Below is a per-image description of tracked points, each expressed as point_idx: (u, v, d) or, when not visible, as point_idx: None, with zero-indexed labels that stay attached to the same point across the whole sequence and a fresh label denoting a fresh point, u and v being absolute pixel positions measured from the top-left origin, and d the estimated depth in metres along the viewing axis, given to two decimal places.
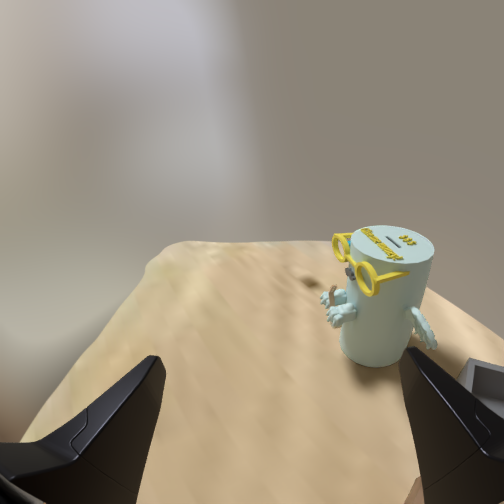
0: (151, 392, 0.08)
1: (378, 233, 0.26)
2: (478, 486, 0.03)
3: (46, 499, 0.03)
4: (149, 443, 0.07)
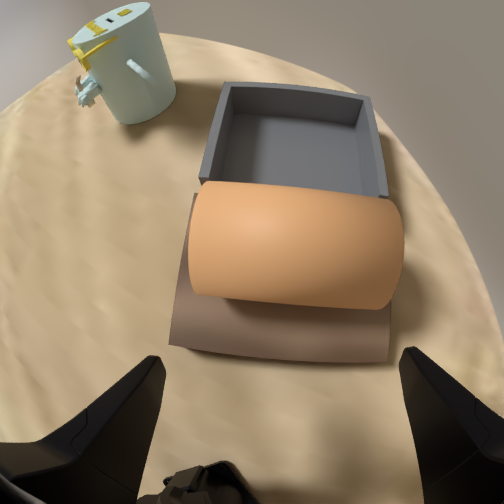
0: (151, 392, 0.08)
1: (100, 20, 0.17)
2: (478, 485, 0.03)
3: (46, 499, 0.03)
4: (149, 443, 0.07)
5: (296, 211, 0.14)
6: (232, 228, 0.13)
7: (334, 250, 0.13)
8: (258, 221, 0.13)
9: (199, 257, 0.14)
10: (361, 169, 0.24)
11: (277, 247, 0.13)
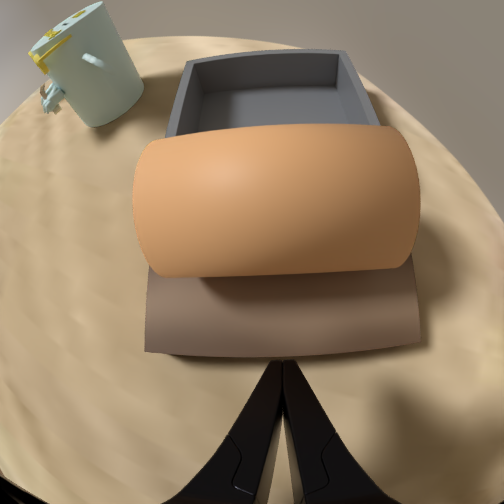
0: (282, 400, 0.08)
1: (57, 27, 0.15)
2: None
3: None
4: (275, 457, 0.07)
5: (264, 139, 0.10)
6: (183, 170, 0.10)
7: (323, 175, 0.09)
8: (215, 155, 0.10)
9: (145, 214, 0.10)
10: None
11: (243, 181, 0.09)
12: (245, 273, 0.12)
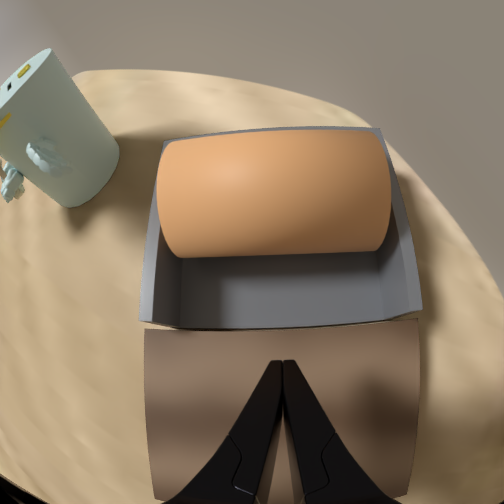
0: (282, 400, 0.08)
1: (4, 85, 0.12)
2: None
3: None
4: None
5: None
6: None
7: None
8: None
9: None
10: None
11: None
12: None
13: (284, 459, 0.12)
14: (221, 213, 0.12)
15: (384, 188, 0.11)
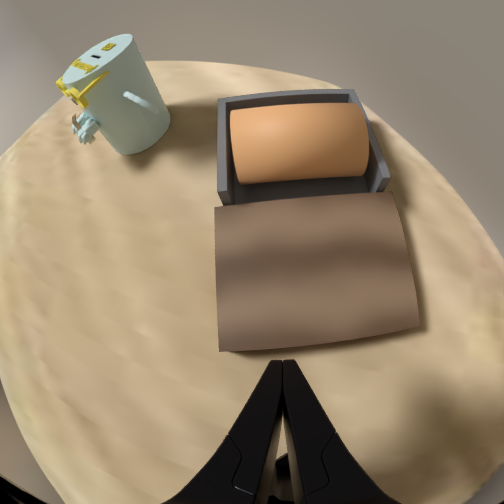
0: (282, 400, 0.08)
1: (85, 57, 0.20)
2: None
3: None
4: None
5: None
6: None
7: None
8: None
9: None
10: None
11: None
12: None
13: (322, 285, 0.21)
14: (275, 172, 0.22)
15: (364, 158, 0.20)
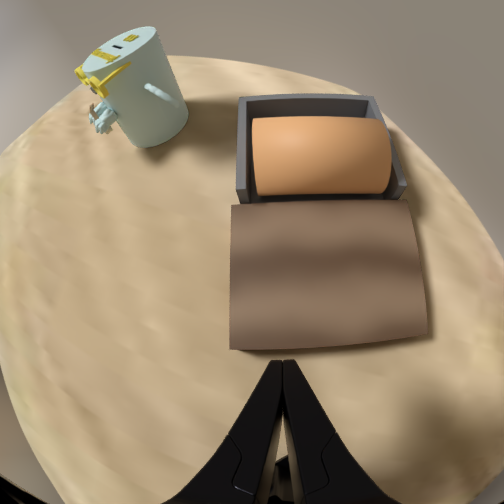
0: (282, 400, 0.08)
1: (106, 47, 0.20)
2: None
3: None
4: None
5: None
6: None
7: None
8: None
9: None
10: None
11: None
12: None
13: (335, 288, 0.20)
14: (294, 192, 0.23)
15: (382, 187, 0.21)
